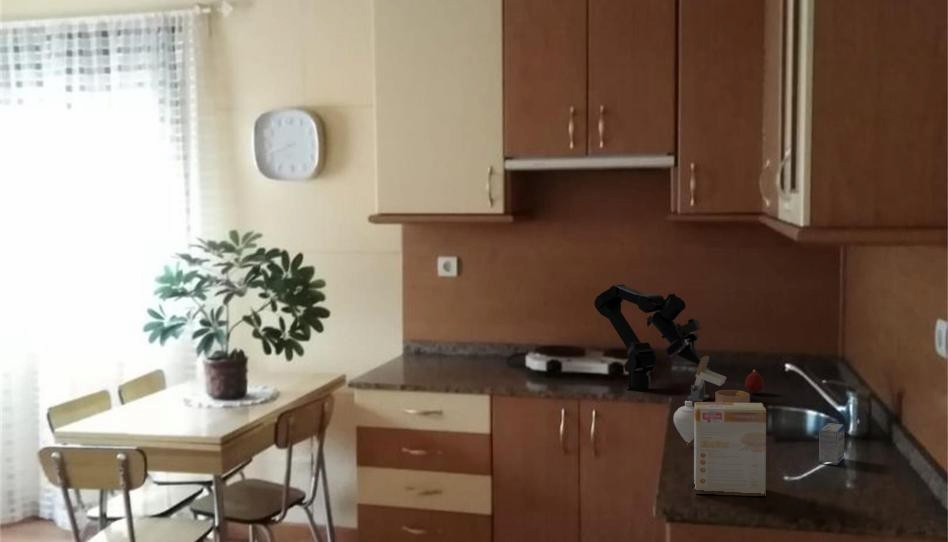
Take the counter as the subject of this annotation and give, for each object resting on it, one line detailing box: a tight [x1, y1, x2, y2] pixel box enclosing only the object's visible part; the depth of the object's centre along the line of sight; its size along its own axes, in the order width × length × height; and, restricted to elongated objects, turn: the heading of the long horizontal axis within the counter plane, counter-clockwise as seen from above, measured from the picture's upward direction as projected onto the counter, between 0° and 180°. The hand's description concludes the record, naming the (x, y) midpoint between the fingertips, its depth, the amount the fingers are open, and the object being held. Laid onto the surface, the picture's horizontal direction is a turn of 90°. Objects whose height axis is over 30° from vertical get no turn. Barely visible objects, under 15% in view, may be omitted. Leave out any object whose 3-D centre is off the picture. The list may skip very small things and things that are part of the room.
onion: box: [744, 369, 764, 395], centre depth 306 cm, size 6×6×8 cm
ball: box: [736, 390, 747, 396], centre depth 292 cm, size 4×4×4 cm
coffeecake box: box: [693, 401, 767, 494], centre depth 206 cm, size 15×7×20 cm, turn 81°
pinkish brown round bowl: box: [714, 389, 751, 403], centre depth 294 cm, size 10×10×3 cm
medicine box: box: [818, 422, 845, 463], centre depth 229 cm, size 8×4×9 cm, turn 148°
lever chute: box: [694, 355, 727, 389], centre depth 297 cm, size 8×6×10 cm
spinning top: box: [673, 400, 694, 444], centre depth 244 cm, size 8×8×12 cm
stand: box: [686, 381, 710, 402], centre depth 299 cm, size 5×8×5 cm, turn 150°
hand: (701, 363), depth 298 cm, fingers closed, pressing on lever chute
